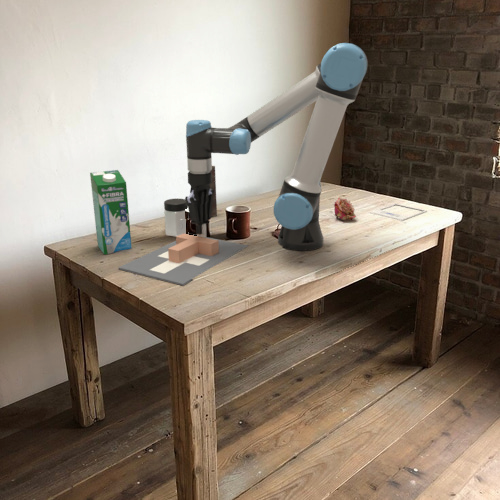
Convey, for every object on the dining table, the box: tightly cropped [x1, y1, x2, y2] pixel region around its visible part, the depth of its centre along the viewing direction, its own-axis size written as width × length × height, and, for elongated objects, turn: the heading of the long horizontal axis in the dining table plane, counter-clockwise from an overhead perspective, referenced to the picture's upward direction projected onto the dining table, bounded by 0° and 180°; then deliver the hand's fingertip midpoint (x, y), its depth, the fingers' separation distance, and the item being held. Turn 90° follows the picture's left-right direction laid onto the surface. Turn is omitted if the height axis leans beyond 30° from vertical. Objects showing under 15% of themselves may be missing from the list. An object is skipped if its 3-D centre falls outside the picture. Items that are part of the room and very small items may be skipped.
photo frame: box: [369, 203, 428, 222], centre depth 217 cm, size 15×1×18 cm
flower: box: [333, 197, 357, 223], centre depth 207 cm, size 10×9×8 cm
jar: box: [163, 198, 188, 238], centre depth 190 cm, size 9×8×12 cm
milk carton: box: [89, 169, 132, 255], centre depth 175 cm, size 9×9×25 cm
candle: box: [210, 165, 218, 218], centre depth 209 cm, size 8×7×20 cm
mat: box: [118, 236, 250, 287], centre depth 170 cm, size 24×36×1 cm, turn 150°
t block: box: [168, 233, 219, 263], centre depth 170 cm, size 14×14×4 cm
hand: (201, 242), depth 177 cm, fingers closed
